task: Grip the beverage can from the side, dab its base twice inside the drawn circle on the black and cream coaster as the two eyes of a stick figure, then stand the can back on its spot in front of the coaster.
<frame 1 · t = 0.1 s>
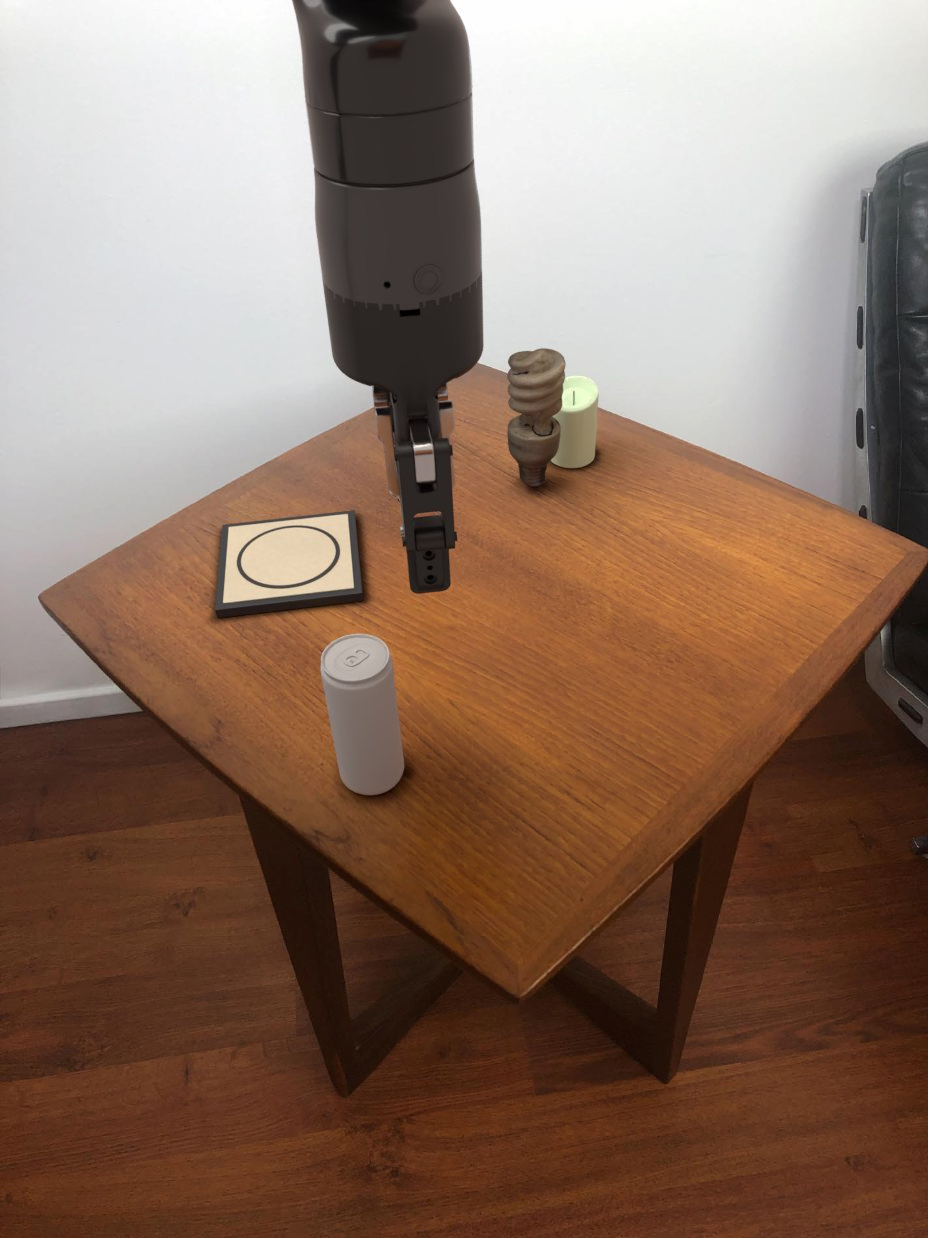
hand: (422, 542, 56), 22 cm above the table, tool pointing down, fingers open, 8 cm apart
beverage can: (373, 775, 71), on the table
candle: (571, 457, 103), on the table
light bulb: (534, 488, 99), on the table
black and cream coaster: (290, 565, 91), on the table
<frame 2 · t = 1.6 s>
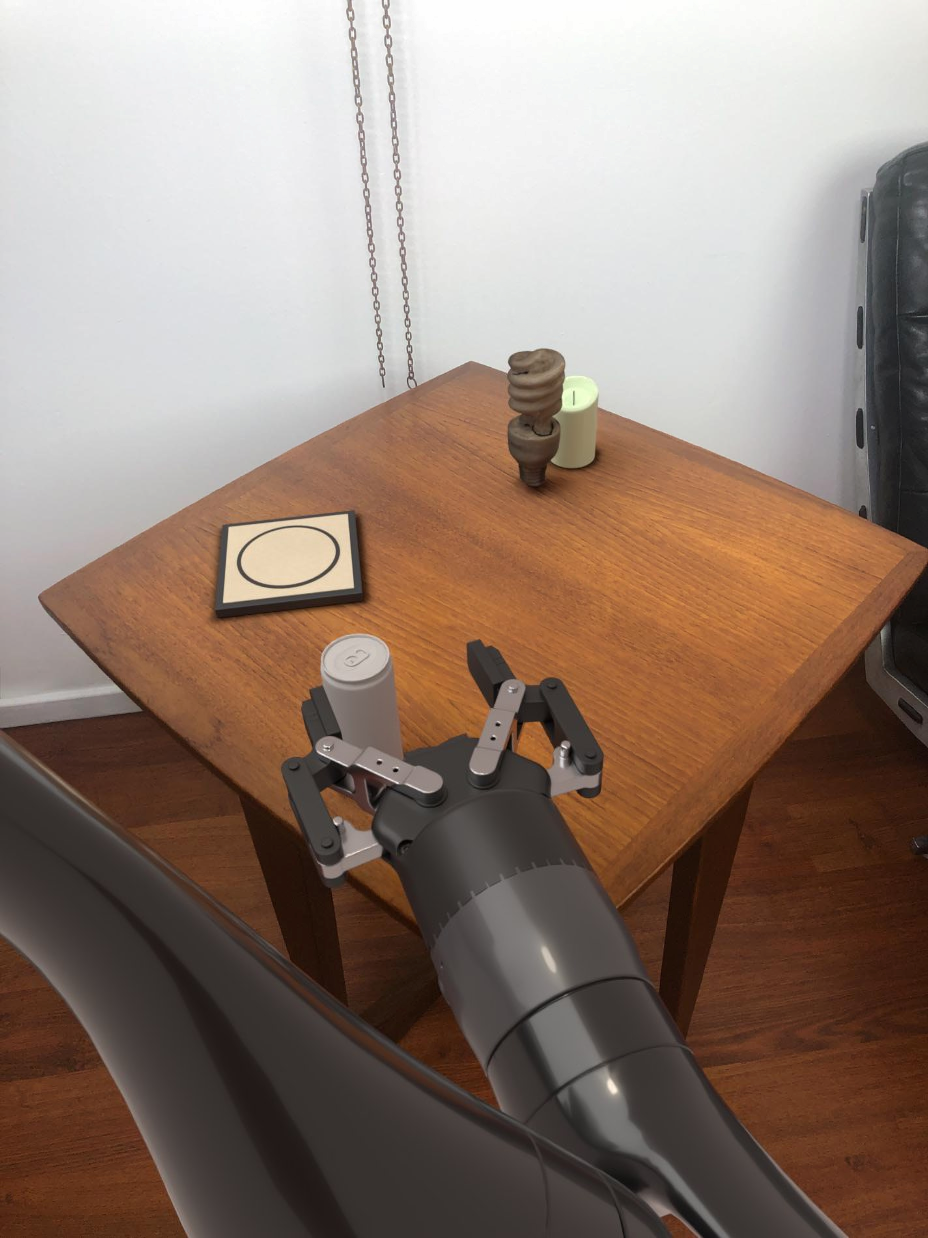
hand: (396, 674, 50), 20 cm above the table, tool horizontal, fingers open, 8 cm apart
nothing on the table moved.
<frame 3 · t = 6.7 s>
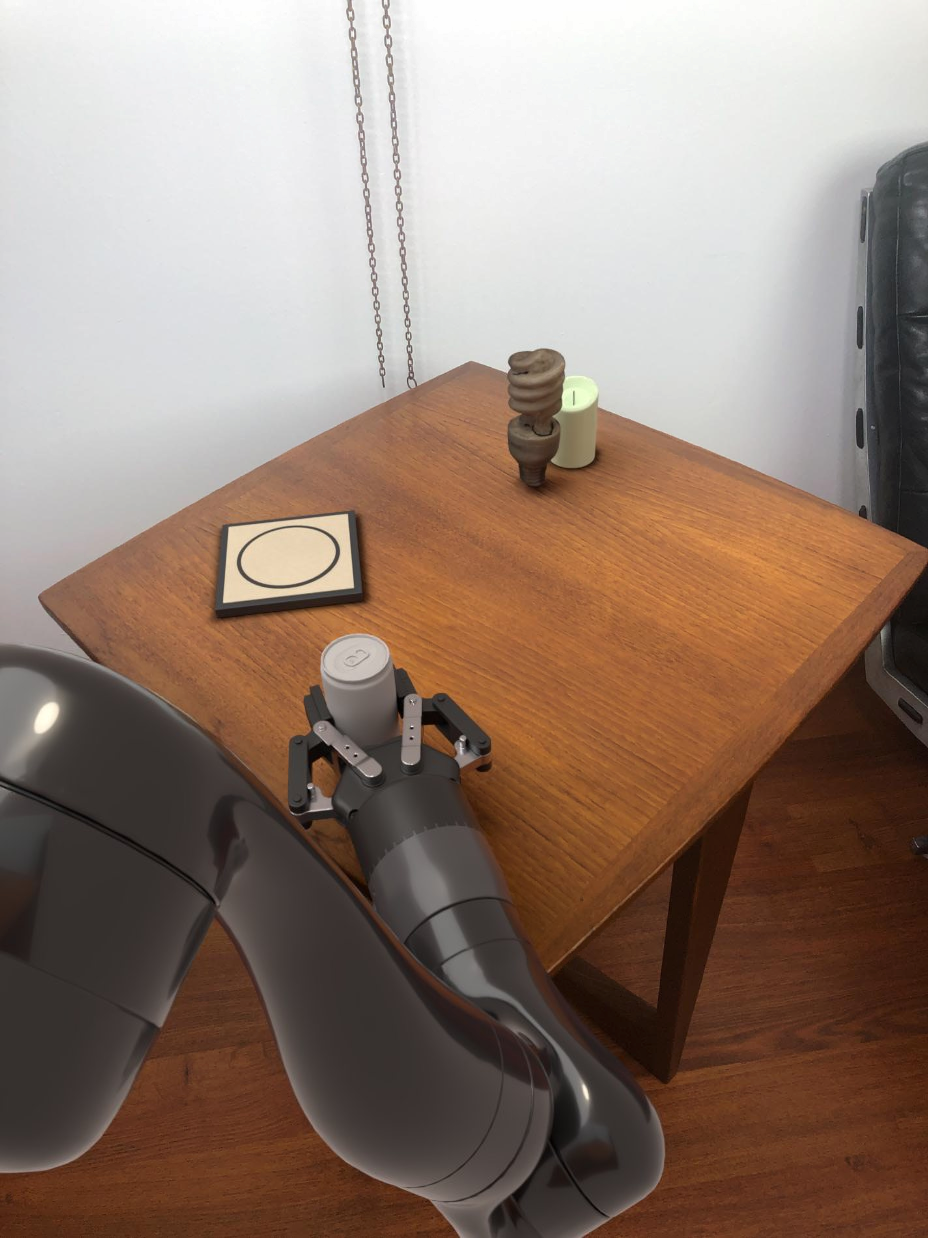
hand: (352, 684, 68), 7 cm above the table, tool horizontal, fingers closed on beverage can, 5 cm apart
beverage can: (373, 775, 71), on the table, touching gripper
everything else where it was.
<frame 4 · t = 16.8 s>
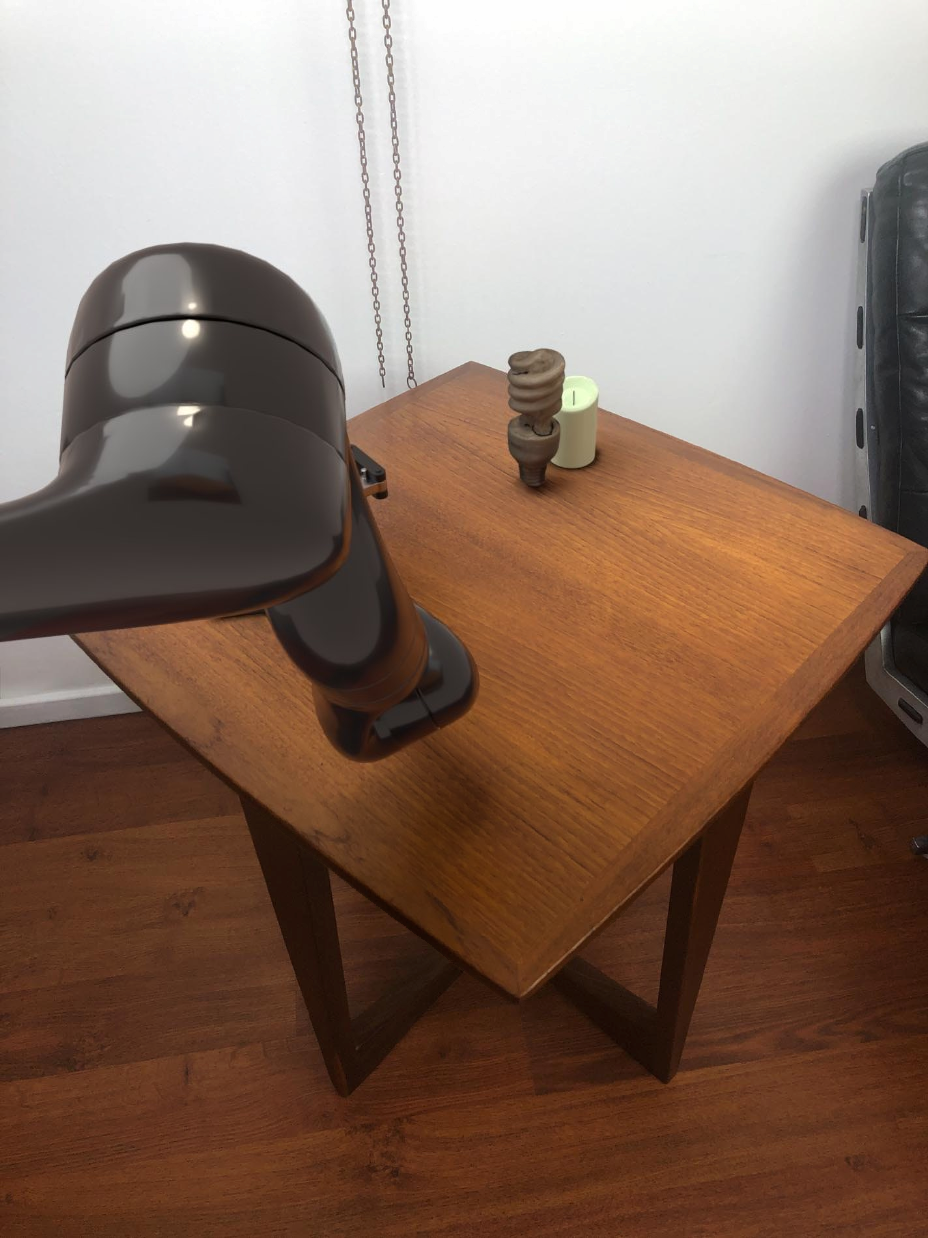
hand: (282, 445, 86), 11 cm above the table, tool horizontal, fingers closed on beverage can, 5 cm apart
beverage can: (301, 527, 88), point 4 cm above the table, touching gripper
everything else where it was.
when the fingers open (7 cm above the table, at t = 27.0 s): beverage can stays where it is, on the table.
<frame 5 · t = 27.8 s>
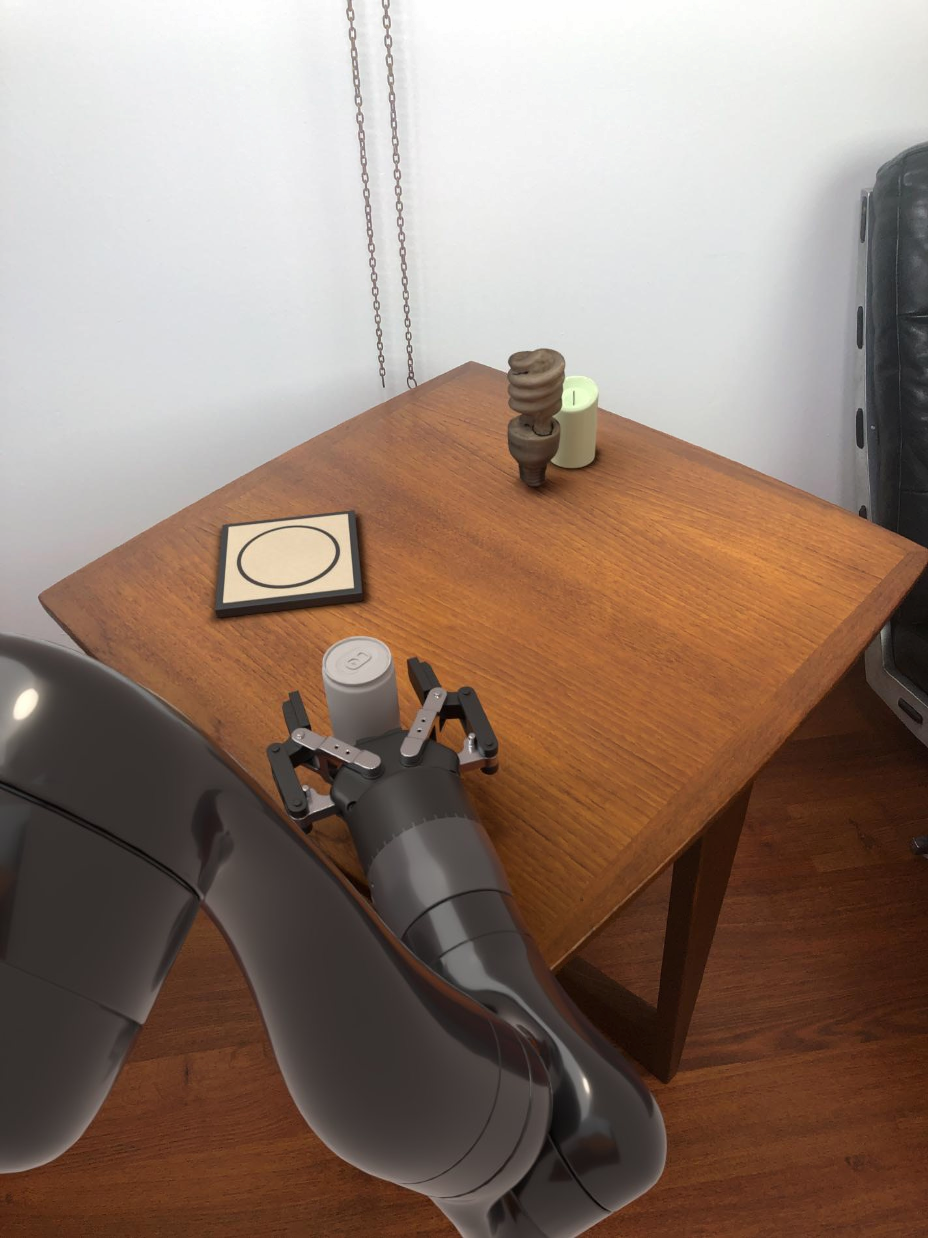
hand: (353, 682, 67), 8 cm above the table, tool horizontal, fingers open, 8 cm apart
beverage can: (374, 778, 71), on the table
everything else where it was.
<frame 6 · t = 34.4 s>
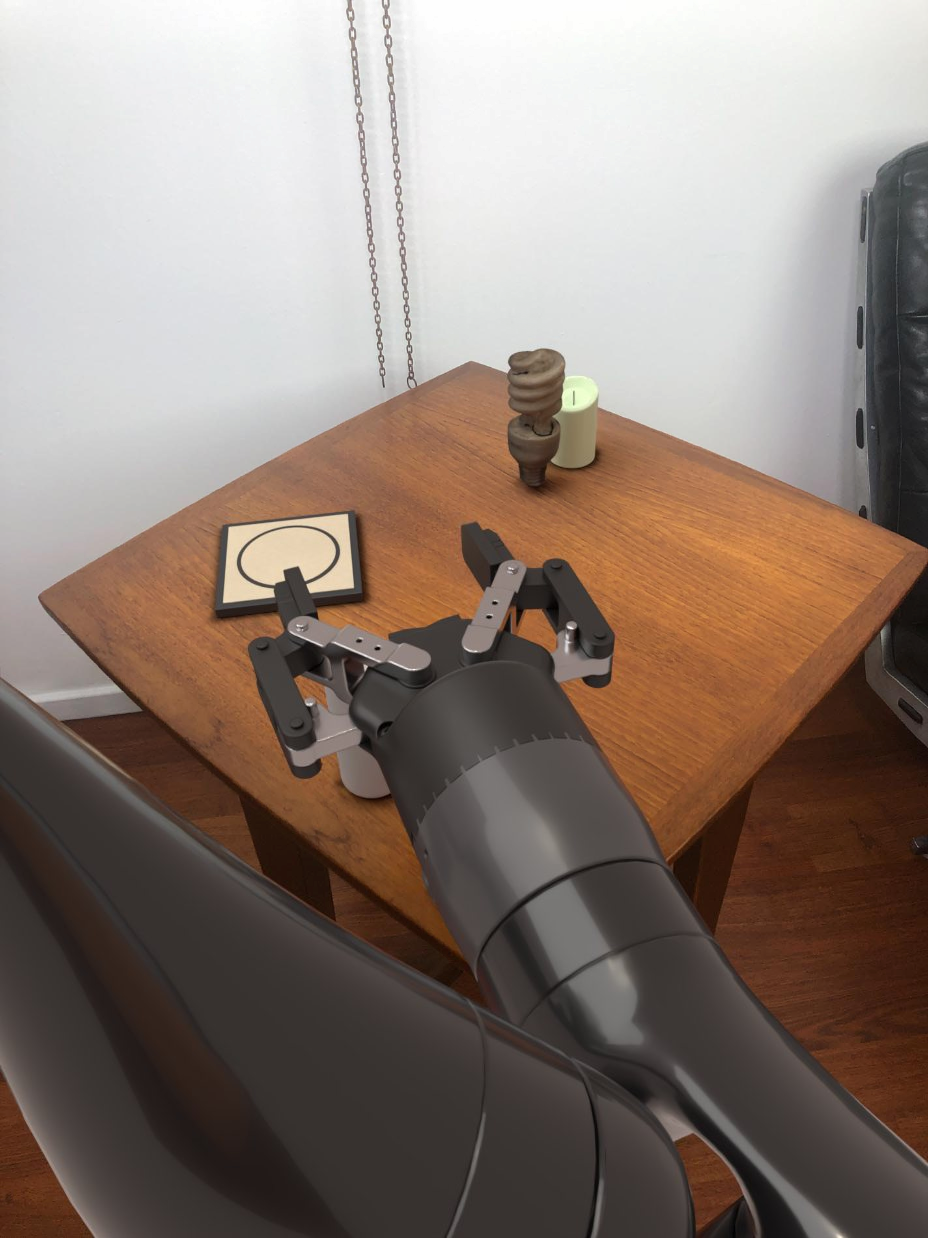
hand: (382, 559, 45), 28 cm above the table, tool horizontal, fingers open, 8 cm apart
nothing on the table moved.
at the end: beverage can 0.3 cm from the target spot on the table beside the black and cream coaster, on the table; beverage can tilted 0°; the gripper is holding nothing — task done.
